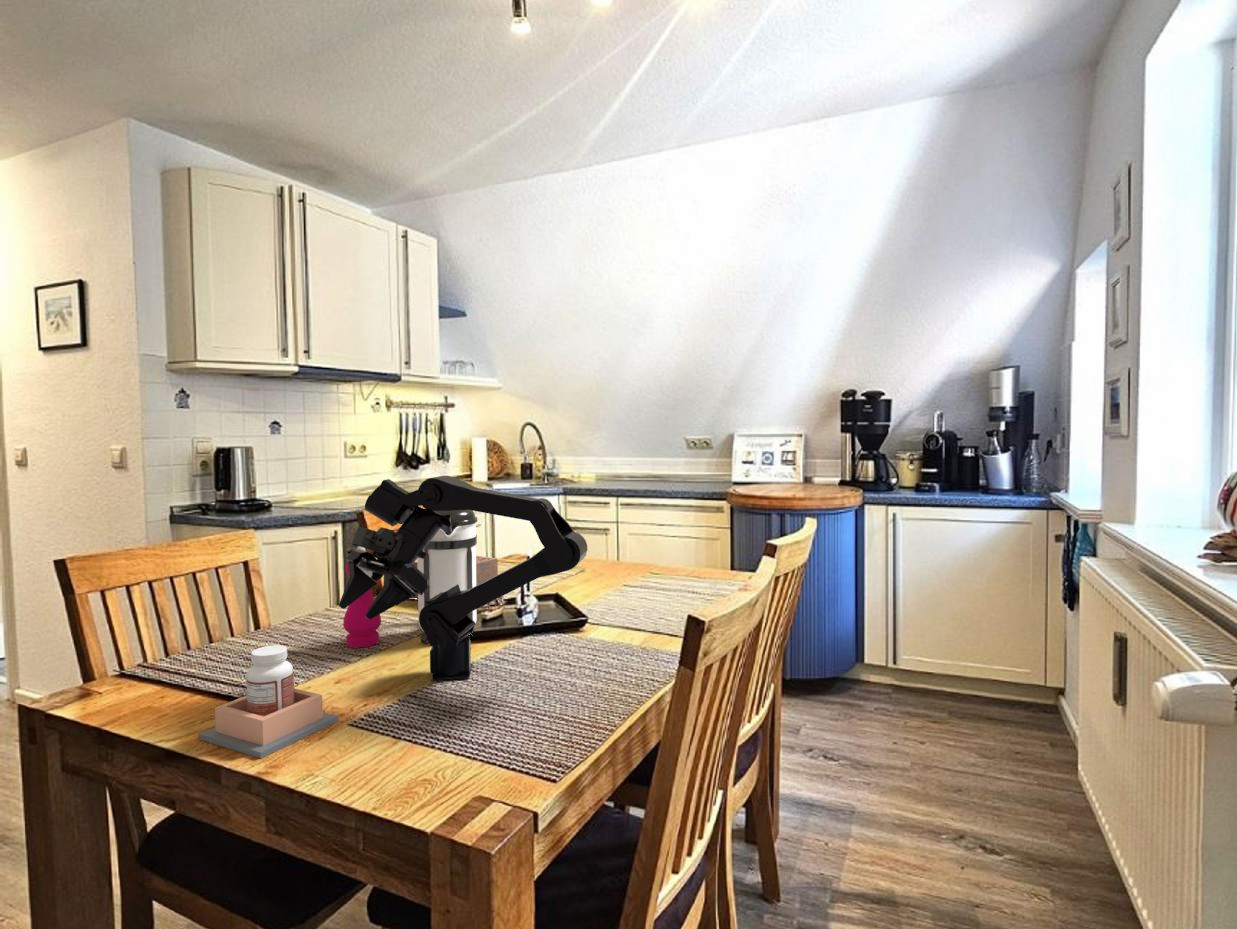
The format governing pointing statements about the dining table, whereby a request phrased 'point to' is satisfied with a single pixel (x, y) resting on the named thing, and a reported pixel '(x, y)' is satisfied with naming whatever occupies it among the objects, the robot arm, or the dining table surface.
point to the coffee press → (450, 559)
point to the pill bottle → (269, 681)
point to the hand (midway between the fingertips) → (353, 612)
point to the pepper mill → (361, 620)
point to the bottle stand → (267, 725)
